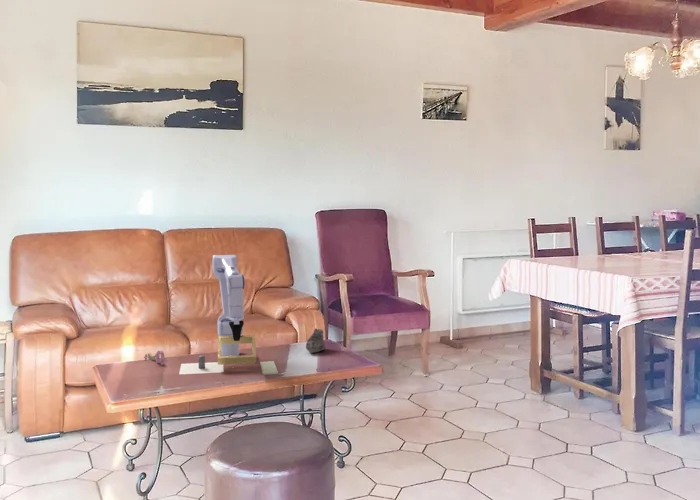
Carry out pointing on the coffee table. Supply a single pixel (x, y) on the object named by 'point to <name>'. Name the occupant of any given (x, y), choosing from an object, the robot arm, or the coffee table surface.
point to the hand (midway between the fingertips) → (236, 340)
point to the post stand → (201, 367)
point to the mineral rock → (315, 341)
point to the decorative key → (156, 357)
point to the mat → (268, 368)
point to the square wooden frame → (240, 358)
